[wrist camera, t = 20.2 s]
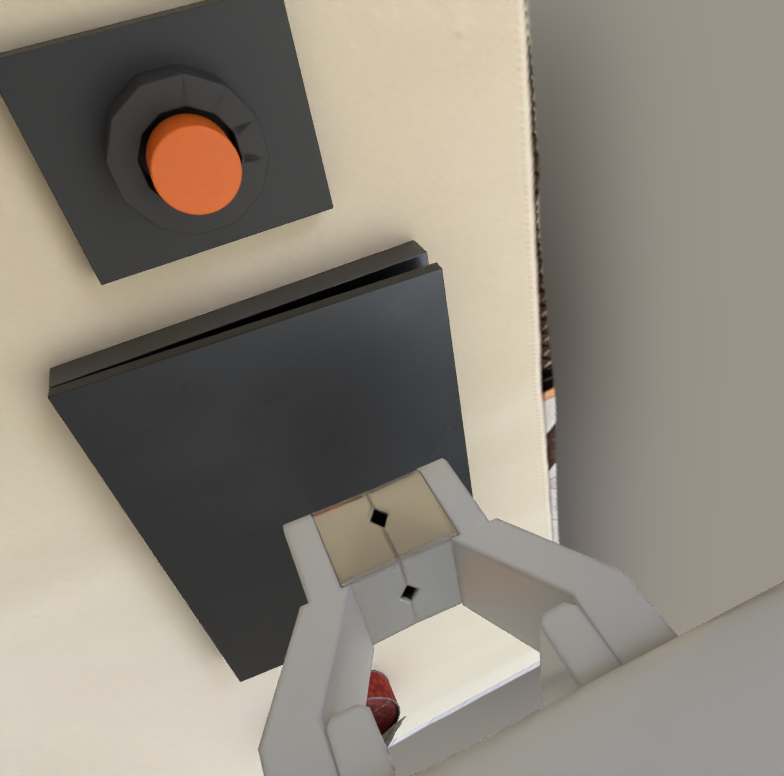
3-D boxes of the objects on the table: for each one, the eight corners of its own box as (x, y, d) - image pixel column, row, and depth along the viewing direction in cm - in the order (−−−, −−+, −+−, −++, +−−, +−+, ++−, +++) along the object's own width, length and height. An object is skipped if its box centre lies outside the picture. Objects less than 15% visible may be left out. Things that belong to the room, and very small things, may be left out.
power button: (165, 209, 29) (171, 227, 27) (130, 127, 26) (134, 140, 25) (243, 184, 29) (253, 200, 28) (216, 102, 27) (225, 114, 25)
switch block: (100, 274, 32) (103, 306, 30) (-14, 56, 26) (-23, 72, 23) (326, 199, 34) (347, 223, 32) (272, -17, 28) (293, -10, 25)
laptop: (414, 239, 38) (428, 252, 36) (463, 547, 57) (473, 563, 55) (49, 368, 34) (48, 388, 32) (234, 652, 53) (238, 673, 51)
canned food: (357, 628, 66) (437, 687, 60) (351, 695, 70) (424, 755, 65) (272, 701, 58) (355, 776, 52) (271, 770, 62) (348, 846, 57)
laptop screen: (436, 261, 36) (442, 268, 35) (479, 574, 55) (484, 582, 54) (48, 387, 32) (47, 397, 32) (238, 672, 52) (240, 682, 51)
